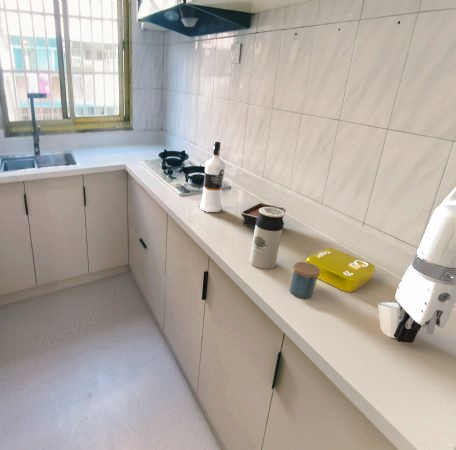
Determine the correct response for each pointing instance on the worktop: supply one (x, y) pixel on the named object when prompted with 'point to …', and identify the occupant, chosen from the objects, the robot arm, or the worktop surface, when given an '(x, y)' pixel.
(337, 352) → the worktop surface
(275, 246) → the travel mug
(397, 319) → the white cup
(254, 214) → the baking dish
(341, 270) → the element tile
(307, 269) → the salt pot
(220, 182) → the vodka
